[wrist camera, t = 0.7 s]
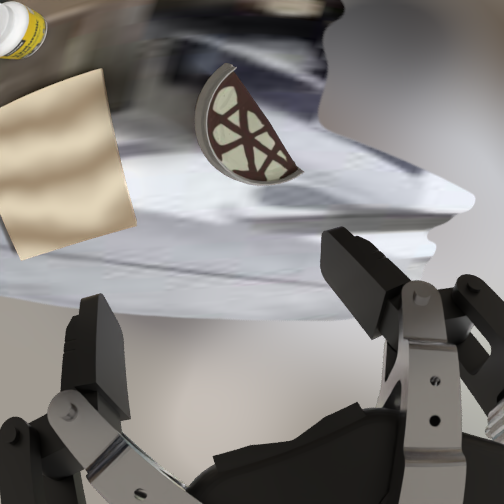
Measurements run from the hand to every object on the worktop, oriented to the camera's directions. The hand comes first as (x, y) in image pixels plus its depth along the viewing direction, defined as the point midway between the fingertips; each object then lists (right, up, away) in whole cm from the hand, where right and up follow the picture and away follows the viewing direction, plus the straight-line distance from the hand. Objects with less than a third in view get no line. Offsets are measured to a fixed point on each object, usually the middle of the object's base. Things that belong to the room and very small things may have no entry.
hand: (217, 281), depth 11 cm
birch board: (-21, +10, +17) cm, 29 cm away
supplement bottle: (-22, +23, +8) cm, 33 cm away
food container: (-3, +15, +21) cm, 26 cm away
